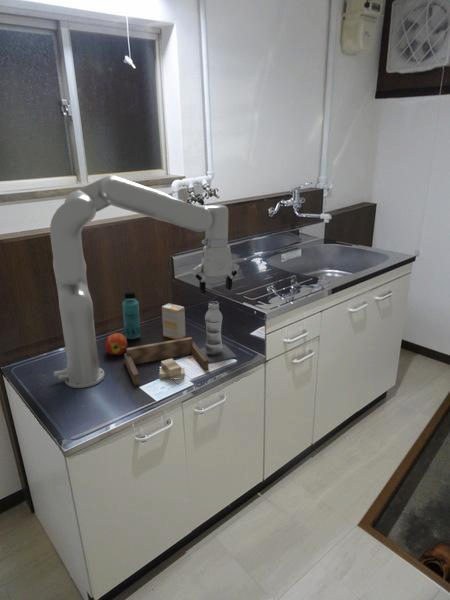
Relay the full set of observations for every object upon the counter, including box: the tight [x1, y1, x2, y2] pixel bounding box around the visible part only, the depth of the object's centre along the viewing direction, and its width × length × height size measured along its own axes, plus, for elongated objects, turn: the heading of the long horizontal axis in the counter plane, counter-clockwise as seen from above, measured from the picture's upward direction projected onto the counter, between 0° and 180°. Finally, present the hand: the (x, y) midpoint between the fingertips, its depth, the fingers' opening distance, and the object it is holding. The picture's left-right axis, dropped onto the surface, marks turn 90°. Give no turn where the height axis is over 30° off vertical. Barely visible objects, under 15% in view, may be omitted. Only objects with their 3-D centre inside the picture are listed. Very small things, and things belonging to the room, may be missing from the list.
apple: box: [104, 332, 128, 356], centre depth 156 cm, size 8×8×8 cm
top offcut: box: [160, 357, 182, 377], centre depth 141 cm, size 7×4×2 cm, turn 32°
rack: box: [123, 336, 210, 386], centre depth 147 cm, size 26×16×6 cm, turn 113°
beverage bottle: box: [121, 290, 141, 340], centre depth 165 cm, size 6×7×20 cm
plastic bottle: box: [204, 300, 223, 355], centre depth 153 cm, size 6×7×20 cm
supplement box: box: [161, 303, 187, 340], centre depth 169 cm, size 8×5×13 cm, turn 58°
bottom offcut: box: [158, 367, 185, 380], centre depth 142 cm, size 8×4×2 cm, turn 91°
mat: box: [199, 343, 237, 364], centre depth 157 cm, size 11×11×1 cm
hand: (215, 290), depth 148 cm, fingers open, 9 cm apart
